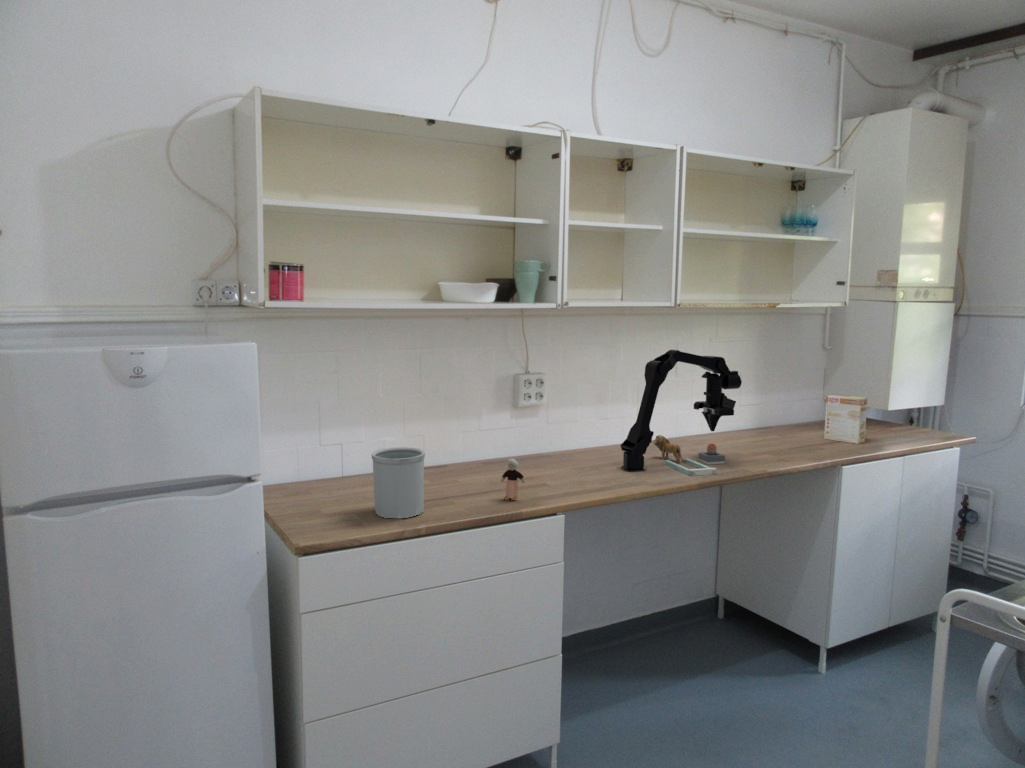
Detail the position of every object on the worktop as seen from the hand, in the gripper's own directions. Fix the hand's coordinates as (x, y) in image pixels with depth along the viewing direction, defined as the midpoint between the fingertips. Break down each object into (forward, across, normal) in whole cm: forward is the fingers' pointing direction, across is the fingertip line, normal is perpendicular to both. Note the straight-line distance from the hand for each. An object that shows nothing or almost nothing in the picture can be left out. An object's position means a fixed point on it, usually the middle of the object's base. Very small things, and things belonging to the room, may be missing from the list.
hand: (712, 431), depth 271 cm
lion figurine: (+12, +7, +14) cm, 20 cm away
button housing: (+12, 0, 0) cm, 12 cm away
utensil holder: (+12, -33, +122) cm, 127 cm away
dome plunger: (+9, 0, 0) cm, 9 cm away
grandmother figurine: (+12, -29, +87) cm, 92 cm away
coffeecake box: (+12, +21, -79) cm, 83 cm away
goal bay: (+12, -8, +14) cm, 20 cm away
